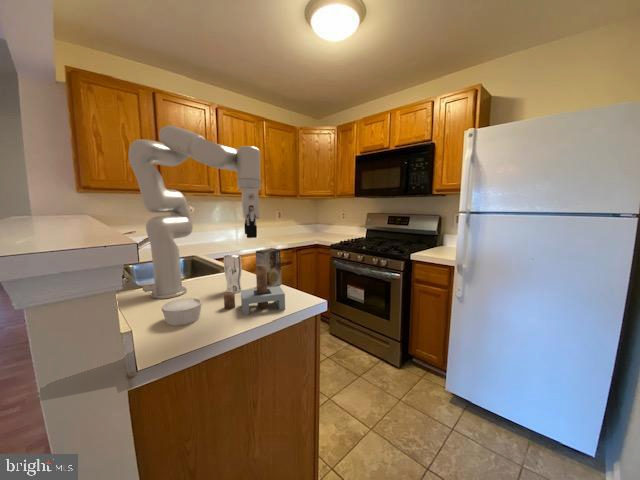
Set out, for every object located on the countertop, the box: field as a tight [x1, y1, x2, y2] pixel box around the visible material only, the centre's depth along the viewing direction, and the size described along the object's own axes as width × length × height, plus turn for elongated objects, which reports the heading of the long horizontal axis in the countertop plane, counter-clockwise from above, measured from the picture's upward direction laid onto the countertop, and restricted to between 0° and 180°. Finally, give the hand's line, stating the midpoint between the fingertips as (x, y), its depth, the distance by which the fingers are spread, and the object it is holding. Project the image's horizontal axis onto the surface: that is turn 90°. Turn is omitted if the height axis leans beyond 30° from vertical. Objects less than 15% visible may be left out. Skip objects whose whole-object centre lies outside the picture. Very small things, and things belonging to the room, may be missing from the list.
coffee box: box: [255, 247, 283, 288], centre depth 118 cm, size 9×6×16 cm
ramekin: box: [161, 297, 203, 327], centre depth 85 cm, size 11×11×5 cm
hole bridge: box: [240, 285, 286, 316], centre depth 94 cm, size 14×9×6 cm, turn 109°
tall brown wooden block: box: [255, 264, 269, 310], centre depth 93 cm, size 4×4×15 cm
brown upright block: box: [223, 292, 236, 310], centre depth 94 cm, size 4×4×5 cm
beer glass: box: [223, 253, 243, 294], centre depth 111 cm, size 7×7×15 cm
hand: (250, 235), depth 93 cm, fingers open, 9 cm apart
